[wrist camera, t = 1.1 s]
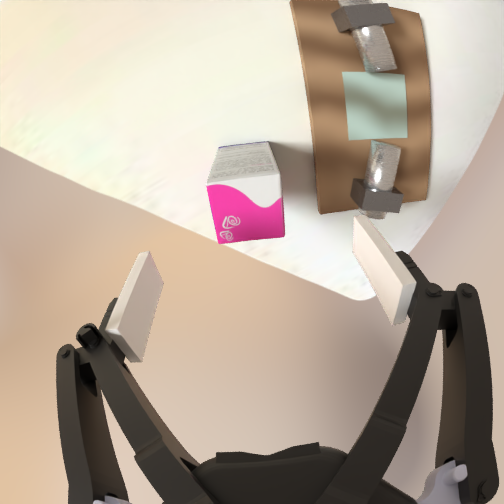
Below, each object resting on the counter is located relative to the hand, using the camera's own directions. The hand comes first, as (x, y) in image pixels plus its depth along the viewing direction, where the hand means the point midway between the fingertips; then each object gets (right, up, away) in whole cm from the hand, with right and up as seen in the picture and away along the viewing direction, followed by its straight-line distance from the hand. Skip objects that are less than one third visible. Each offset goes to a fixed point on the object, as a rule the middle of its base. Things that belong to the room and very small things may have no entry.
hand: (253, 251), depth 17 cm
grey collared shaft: (+12, +23, +3) cm, 26 cm away
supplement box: (-1, +10, +14) cm, 17 cm away
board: (+14, +17, +9) cm, 24 cm away
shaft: (+14, +9, +13) cm, 22 cm away
